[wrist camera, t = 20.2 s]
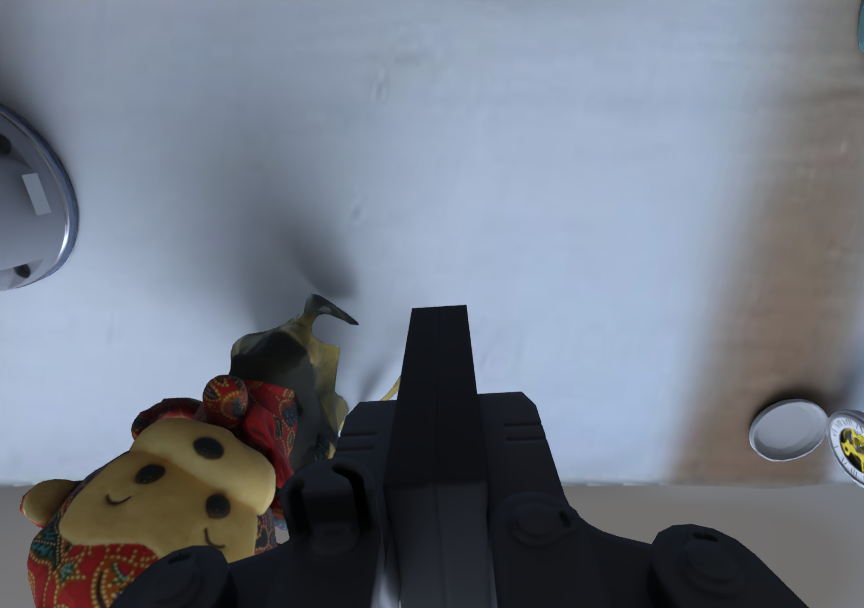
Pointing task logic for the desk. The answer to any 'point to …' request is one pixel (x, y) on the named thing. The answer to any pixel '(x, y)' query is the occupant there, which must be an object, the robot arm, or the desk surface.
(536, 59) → the desk surface
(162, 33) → the desk surface
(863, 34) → the flower pot
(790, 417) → the pocket watch
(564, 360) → the desk surface
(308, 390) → the stuffed monkey
